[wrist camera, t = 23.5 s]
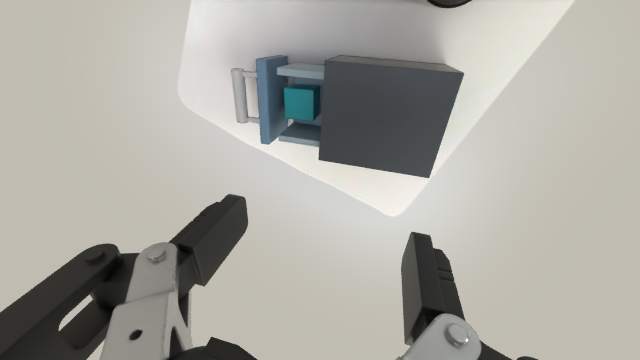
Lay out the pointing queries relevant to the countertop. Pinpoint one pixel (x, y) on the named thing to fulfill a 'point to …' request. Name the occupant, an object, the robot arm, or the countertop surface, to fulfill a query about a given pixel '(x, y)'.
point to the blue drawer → (278, 99)
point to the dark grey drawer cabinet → (386, 113)
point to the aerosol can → (448, 3)
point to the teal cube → (302, 102)
